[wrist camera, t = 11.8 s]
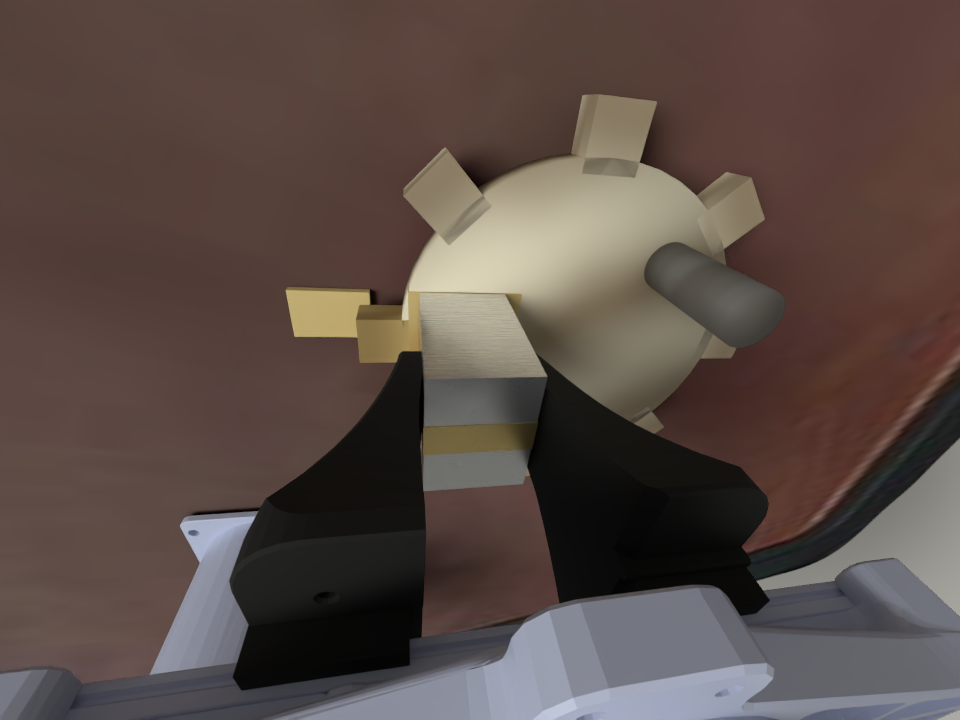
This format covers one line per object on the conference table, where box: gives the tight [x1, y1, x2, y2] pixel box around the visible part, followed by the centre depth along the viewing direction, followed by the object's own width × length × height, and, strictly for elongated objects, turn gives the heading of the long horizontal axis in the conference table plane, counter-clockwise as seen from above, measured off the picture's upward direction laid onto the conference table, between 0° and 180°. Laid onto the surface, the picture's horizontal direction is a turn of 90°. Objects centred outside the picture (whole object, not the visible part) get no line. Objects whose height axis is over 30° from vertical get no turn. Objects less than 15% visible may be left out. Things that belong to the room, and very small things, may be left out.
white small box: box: [419, 293, 547, 491], centre depth 12 cm, size 4×3×5 cm
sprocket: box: [356, 94, 785, 476], centre depth 14 cm, size 16×16×5 cm
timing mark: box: [286, 287, 371, 337], centre depth 15 cm, size 2×3×1 cm, turn 84°
